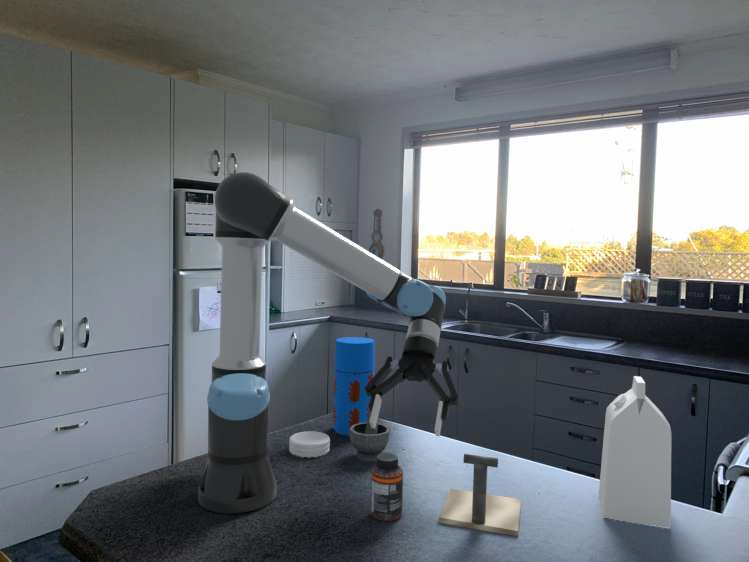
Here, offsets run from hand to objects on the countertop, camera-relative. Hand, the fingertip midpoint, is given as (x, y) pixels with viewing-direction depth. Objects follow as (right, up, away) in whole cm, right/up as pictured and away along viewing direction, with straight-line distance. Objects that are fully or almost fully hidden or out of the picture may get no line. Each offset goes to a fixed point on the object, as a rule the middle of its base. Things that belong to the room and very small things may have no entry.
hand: (404, 429), depth 111 cm
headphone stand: (+15, -14, -7) cm, 21 cm away
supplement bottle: (-4, -14, -8) cm, 17 cm away
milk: (+45, -15, -4) cm, 47 cm away
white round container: (-22, -12, +24) cm, 34 cm away
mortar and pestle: (-7, -12, +21) cm, 25 cm away
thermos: (-12, -11, +39) cm, 42 cm away
